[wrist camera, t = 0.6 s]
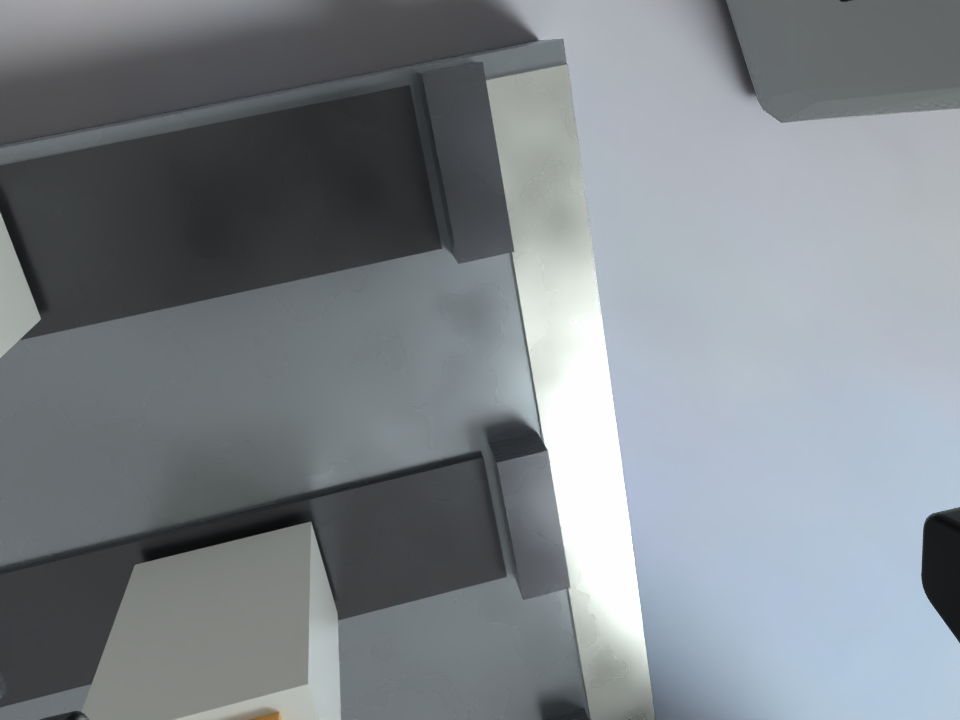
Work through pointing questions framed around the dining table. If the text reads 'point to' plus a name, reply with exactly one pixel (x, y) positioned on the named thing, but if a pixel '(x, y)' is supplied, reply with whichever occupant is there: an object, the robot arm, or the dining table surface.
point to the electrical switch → (850, 56)
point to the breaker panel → (328, 386)
